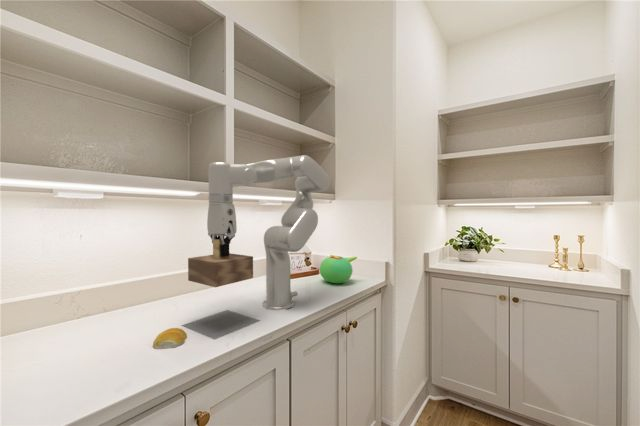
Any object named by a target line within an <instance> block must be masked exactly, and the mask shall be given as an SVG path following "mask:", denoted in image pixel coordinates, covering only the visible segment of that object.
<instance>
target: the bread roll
mask: <svg viewBox="0 0 640 426" xmlns="http://www.w3.org/2000/svg"><path fill="white" fill-rule="evenodd" d="M187 338H188V335H187V332H185V330H184V329H182V328H179V327H171V328H168V329H166V330H164V331H162V332H161V333H159V334H157V336H156V337H155V339H154V340H153V342H152V347H153V349H156V350H165V349H166V350H167V349H168V350H169V349H174V348H178V347H179V346H182V345H183V344H184V343H185V340H187Z"/></svg>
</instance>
